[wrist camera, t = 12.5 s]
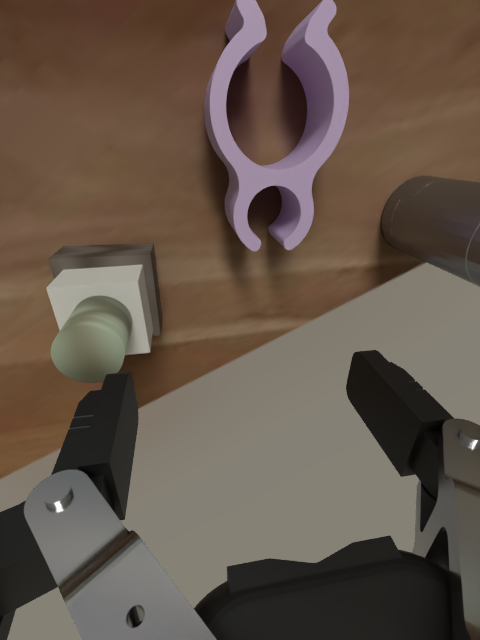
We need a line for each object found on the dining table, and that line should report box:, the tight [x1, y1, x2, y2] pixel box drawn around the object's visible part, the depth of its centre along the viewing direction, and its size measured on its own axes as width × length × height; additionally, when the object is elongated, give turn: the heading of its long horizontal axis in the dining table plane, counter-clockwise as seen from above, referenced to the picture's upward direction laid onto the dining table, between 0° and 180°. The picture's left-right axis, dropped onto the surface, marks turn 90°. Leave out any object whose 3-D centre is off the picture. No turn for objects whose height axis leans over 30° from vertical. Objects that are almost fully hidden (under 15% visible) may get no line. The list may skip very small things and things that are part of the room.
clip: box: [204, 0, 349, 251], centre depth 32 cm, size 20×12×7 cm, turn 0°
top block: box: [46, 265, 153, 355], centre depth 34 cm, size 8×8×5 cm
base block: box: [49, 243, 162, 336], centre depth 38 cm, size 10×10×5 cm
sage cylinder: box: [51, 296, 133, 383], centre depth 29 cm, size 6×6×6 cm
